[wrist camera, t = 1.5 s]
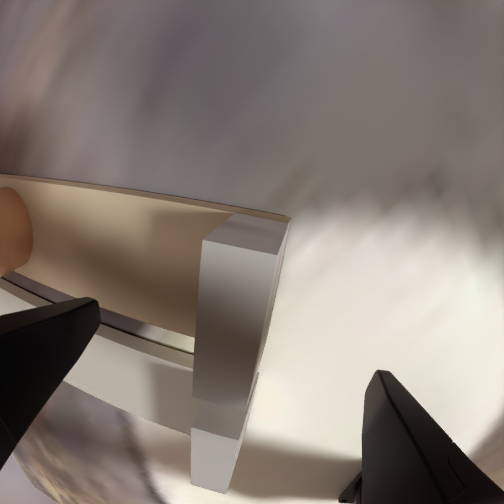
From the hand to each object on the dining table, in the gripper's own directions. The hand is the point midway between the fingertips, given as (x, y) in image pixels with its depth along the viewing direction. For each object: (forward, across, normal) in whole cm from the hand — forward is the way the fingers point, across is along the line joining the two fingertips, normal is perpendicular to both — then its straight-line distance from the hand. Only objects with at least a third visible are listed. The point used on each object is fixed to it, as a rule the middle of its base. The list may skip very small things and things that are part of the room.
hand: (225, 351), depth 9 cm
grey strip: (+5, +11, +8) cm, 15 cm away
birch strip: (+5, +11, 0) cm, 12 cm away
